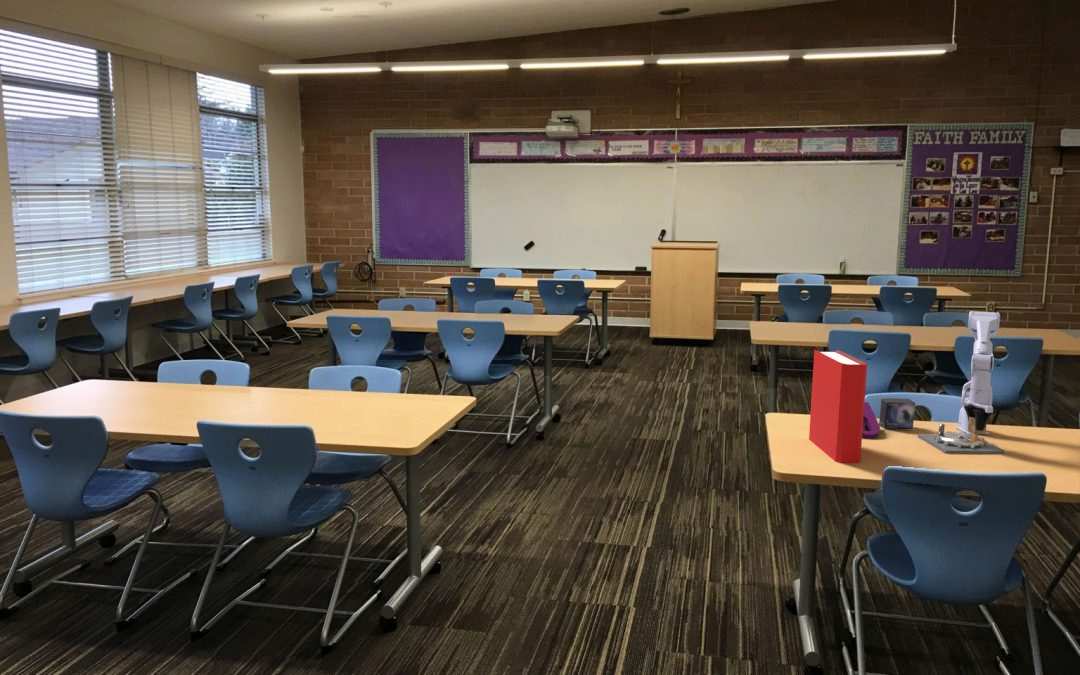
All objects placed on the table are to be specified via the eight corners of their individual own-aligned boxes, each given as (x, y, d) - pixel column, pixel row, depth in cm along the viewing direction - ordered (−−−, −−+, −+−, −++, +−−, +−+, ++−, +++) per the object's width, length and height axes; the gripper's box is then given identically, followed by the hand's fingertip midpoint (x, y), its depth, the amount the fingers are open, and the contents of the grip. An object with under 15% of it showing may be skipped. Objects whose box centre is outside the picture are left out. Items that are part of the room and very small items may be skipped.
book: (808, 439, 298) (814, 349, 293) (831, 439, 298) (837, 349, 293) (837, 463, 271) (843, 364, 266) (861, 463, 271) (869, 364, 266)
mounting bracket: (878, 452, 304) (863, 419, 318) (883, 434, 299) (868, 402, 314) (851, 452, 304) (838, 419, 319) (856, 434, 299) (842, 401, 314)
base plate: (917, 437, 302) (918, 420, 301) (972, 437, 303) (974, 420, 302) (945, 453, 282) (947, 436, 281) (1004, 453, 283) (1006, 436, 282)
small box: (884, 429, 312) (886, 401, 310) (878, 425, 318) (880, 397, 317) (913, 430, 312) (916, 402, 310) (906, 425, 318) (909, 398, 316)
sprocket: (925, 435, 300) (926, 420, 299) (970, 435, 301) (972, 420, 300) (948, 448, 284) (950, 433, 283) (996, 448, 285) (997, 433, 284)
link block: (967, 431, 292) (969, 417, 291) (979, 431, 292) (980, 417, 291) (973, 434, 288) (975, 420, 287) (985, 434, 288) (986, 420, 287)
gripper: (957, 384, 294) (953, 422, 296) (979, 394, 280) (975, 434, 282) (977, 384, 295) (973, 423, 297) (1000, 394, 280) (996, 434, 282)
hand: (976, 428), depth 289 cm, fingers closed on link block, 4 cm apart
